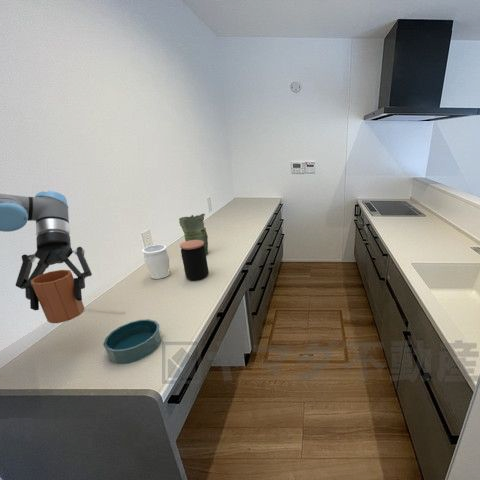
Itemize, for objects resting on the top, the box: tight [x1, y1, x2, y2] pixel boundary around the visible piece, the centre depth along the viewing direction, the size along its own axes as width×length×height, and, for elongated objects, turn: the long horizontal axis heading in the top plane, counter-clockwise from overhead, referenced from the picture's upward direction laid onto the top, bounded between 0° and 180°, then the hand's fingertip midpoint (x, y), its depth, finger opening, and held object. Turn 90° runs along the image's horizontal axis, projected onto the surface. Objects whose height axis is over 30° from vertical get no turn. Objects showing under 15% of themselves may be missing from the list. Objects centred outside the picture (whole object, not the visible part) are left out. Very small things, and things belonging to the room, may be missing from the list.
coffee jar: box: [179, 240, 209, 282], centre depth 131 cm, size 11×11×18 cm
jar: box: [141, 244, 171, 280], centre depth 131 cm, size 11×10×15 cm
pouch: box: [178, 213, 209, 255], centre depth 154 cm, size 11×12×25 cm
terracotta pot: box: [31, 269, 85, 324], centre depth 78 cm, size 8×9×13 cm
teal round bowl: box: [102, 318, 163, 365], centre depth 87 cm, size 15×15×6 cm
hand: (57, 304), depth 76 cm, fingers closed on terracotta pot, 9 cm apart
